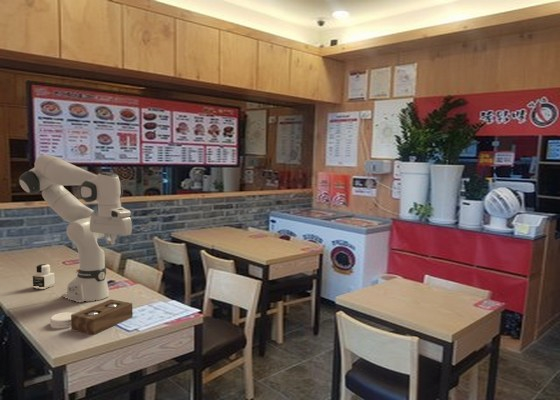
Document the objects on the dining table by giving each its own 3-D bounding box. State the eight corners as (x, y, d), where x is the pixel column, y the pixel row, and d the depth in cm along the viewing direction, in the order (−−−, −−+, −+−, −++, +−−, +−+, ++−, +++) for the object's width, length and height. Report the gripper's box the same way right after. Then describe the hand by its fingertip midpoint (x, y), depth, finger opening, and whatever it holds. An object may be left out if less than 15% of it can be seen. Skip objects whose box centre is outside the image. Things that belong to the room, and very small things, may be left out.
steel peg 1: (86, 326, 162) (85, 313, 162) (93, 323, 166) (93, 310, 165) (92, 327, 161) (92, 315, 161) (100, 324, 164) (99, 312, 164)
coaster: (82, 319, 172) (82, 311, 172) (71, 329, 162) (70, 320, 162) (58, 319, 172) (57, 311, 172) (45, 329, 162) (45, 320, 162)
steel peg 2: (106, 317, 172) (105, 305, 171) (112, 314, 175) (112, 303, 174) (112, 319, 170) (112, 307, 170) (119, 316, 173) (118, 304, 173)
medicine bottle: (32, 289, 212) (31, 266, 210) (43, 285, 218) (42, 262, 217) (44, 290, 210) (43, 267, 209) (55, 286, 217) (54, 263, 216)
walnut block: (71, 329, 161) (71, 314, 161) (111, 312, 180) (110, 299, 179) (94, 334, 156) (93, 319, 156) (132, 317, 175) (132, 303, 174)
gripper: (85, 210, 172) (86, 243, 174) (122, 213, 164) (123, 247, 165) (97, 209, 178) (98, 240, 179) (134, 212, 170) (134, 245, 171)
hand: (110, 244), depth 172 cm, fingers closed
